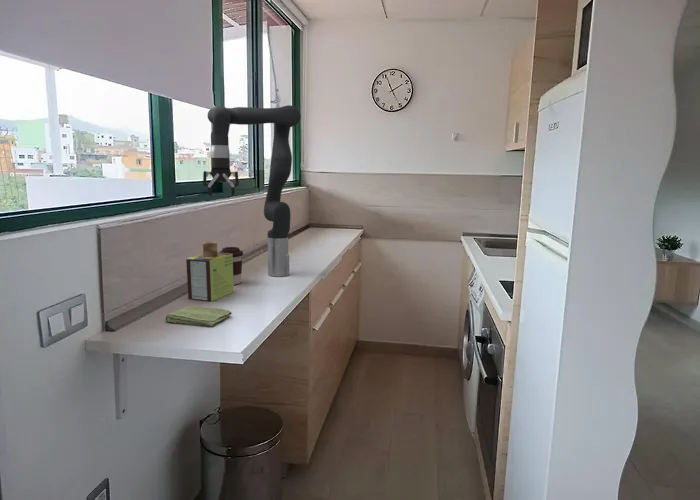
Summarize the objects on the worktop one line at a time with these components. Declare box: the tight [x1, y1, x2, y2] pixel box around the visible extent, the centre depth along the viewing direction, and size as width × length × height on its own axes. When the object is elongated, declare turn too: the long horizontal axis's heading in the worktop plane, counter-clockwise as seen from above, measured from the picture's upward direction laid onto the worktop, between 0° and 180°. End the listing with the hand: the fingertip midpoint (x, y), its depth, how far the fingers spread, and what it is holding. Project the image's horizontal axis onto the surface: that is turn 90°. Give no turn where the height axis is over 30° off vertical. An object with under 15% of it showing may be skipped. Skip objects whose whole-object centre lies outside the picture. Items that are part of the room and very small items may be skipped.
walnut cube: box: [202, 240, 218, 257], centre depth 187 cm, size 5×5×5 cm
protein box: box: [185, 251, 235, 302], centre depth 189 cm, size 10×15×16 cm
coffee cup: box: [218, 246, 244, 286], centre depth 208 cm, size 10×10×15 cm
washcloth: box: [164, 305, 233, 327], centre depth 161 cm, size 13×18×3 cm
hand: (221, 196), depth 207 cm, fingers open, 8 cm apart
